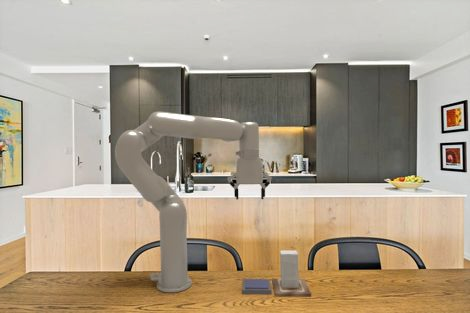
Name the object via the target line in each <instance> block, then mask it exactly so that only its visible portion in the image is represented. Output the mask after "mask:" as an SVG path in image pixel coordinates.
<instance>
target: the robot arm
mask: <svg viewBox="0 0 470 313" xmlns="http://www.w3.org/2000/svg"><path fill="white" fill-rule="evenodd" d="M259 129H260V128H259V123H257V122H253V121H245V122H244V121H243V122H239V121H238V120H234V119H228V118H220V117H209V116H202V115H191V114H183V113H182V114H181V113H176V112H175V113H174V112H167V111H154V112H152V113H151V114H150V115H149V117H148V118H147V119H146V121H145V122H143V123H142V124H140V125H139V126H138V127H136V128H135V129H129V130H126V131H124V132H122V134H121V135H120V136H119V137H118V139H117V142H116V144H115V149H114V157H115V161H116V165H117V166H118V168H119V170H121V172H122V174H124V176H125V177H126V178H127V180H128V181H129V182H130V183H131V185H132V186H133V187H134V188H135V189H136V191H137V192H139V194H140V196H141V197H142V198H143V199H144V200H145V201H147V202H149V203H151V204H152V206H154V207H155V209H156V210H157V211H158V212H159V214H158V215H159V216H158V217H159V218H158V219H159V244H160V245H159V246H160V247H159V248H160V249H159V250H160V272H158V273H157V272H151V273H150V274H149V279H150V281H152V282H155V281H157V282H156V288H157V290H159V291H160V292H163V293H179V292H182V291H186V290H187V289H189V288H190V287H191V286H192V285H193V280H192V279H191V278H190V277H189V276H188V244H187V243H188V241H187V240H188V238H187V237H188V236H187V235H188V234H187V231H188V230H187V224H188V222H187V221H188V214H187V213H188V212H187V208H186V204H185V203H184V201H183V200H182V198H181V197H180V196H179V195H178V194H177V192H175V190H174V189H173V188H172V187H171V185H170V184H169V183H168V182H167V180H165V179H164V177H162V176H161V175H158V174H157V173H156V172H155V171H154V170H153V169H152V167H151V166H150V165H149V163H148V162H146V161H145V159H144V158H143V155H142V152H144V151H145V150H146V149H148V148H149V147H151V146H152V145H154V143H156V142H158V141H159V140H160V139H161V138H162V137H175V138H185V139H192V140H193V139H194V140H197V139H212V140H222V141H224V142H227V143H230V142H237V141H239V142H238V143H239V144H238V145H239V146H238V147H239V150H238V151H235V156H238V157H239V158H237V159H236V166H235V167H236V169H235V170H236V171H235V173H233V174H231V175H229V176H227V178H226V179H227V182H228V183H229V185H230V186H231V187H232V188H233V192H234V198H235V199H236V200H239V186H241V185H259V186H260V187H261V188H260V194H261V195H260V197H261V200H264V198H265V197H266V188H267V187H268V186H270V184H271V182H272V180H273V177H272V176H271V175H268V174H267V173H266V172H265V173H264V170H263V163H262V162H263V161H262V158H261V157H260V140H259V138H260V137H259V136H260V134H259V133H260V132H259V131H260V130H259ZM234 178H235V181H236V183H235V182H233V179H234ZM264 178H266V179H267V180H266V182H265V183H263V181H264Z"/></svg>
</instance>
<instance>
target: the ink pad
mask: <svg viewBox="0 0 470 313" xmlns="http://www.w3.org/2000/svg"><path fill="white" fill-rule="evenodd" d="M241 286H242V287H241V291H242V295H272V294H273V292H272V282H271V279H269V278H242V285H241Z"/></svg>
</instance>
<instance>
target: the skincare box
mask: <svg viewBox="0 0 470 313" xmlns="http://www.w3.org/2000/svg"><path fill="white" fill-rule="evenodd" d="M279 253H280V254H279V257H280V258H279V261H280V279H281V286H282V288H299V279H300V278H299V273H300V272H299V271H300V270H299V253H298V250H286V249H285V250H280V251H279Z"/></svg>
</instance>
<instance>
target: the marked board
mask: <svg viewBox="0 0 470 313" xmlns="http://www.w3.org/2000/svg"><path fill="white" fill-rule="evenodd" d="M271 281H272V282H271V283H272V286H273V292H274V297H296V298H297V297H298V298H299V297H304V298H305V297H306V298H307V297H312V292H311V290H310V287H309V286H308V283H307V281H306V278H299V288H282V286H281V278H272V280H271Z"/></svg>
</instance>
